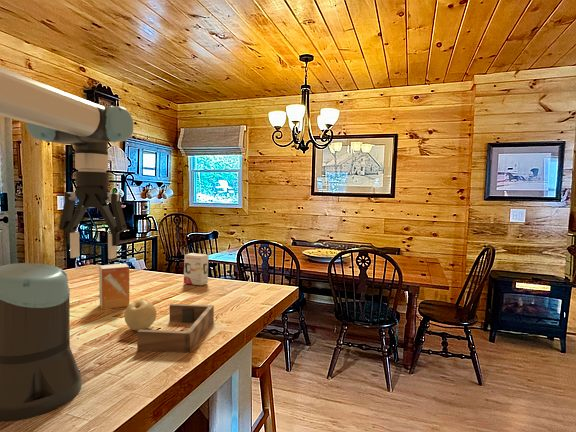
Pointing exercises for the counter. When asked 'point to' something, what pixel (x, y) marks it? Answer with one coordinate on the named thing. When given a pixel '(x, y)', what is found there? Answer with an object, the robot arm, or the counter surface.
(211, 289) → the counter surface
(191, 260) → the ink box
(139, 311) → the apple
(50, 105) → the robot arm
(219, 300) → the counter surface
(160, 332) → the trough
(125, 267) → the small box
